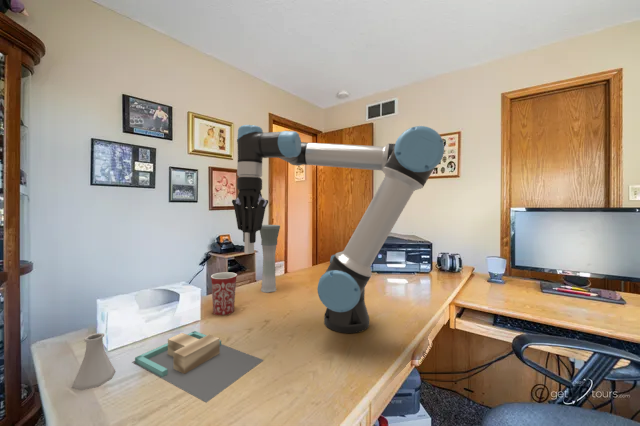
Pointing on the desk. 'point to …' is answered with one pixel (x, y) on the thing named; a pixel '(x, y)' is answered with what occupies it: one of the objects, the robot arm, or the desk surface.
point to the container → (269, 256)
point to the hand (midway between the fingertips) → (249, 253)
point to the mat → (200, 369)
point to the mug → (223, 292)
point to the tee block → (192, 351)
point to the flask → (94, 365)
